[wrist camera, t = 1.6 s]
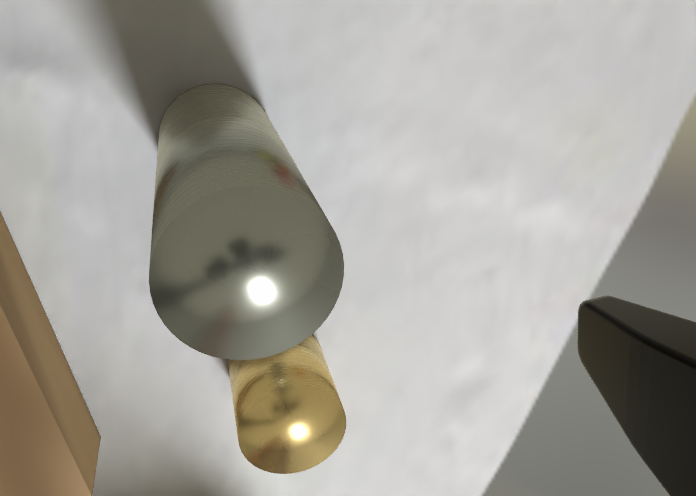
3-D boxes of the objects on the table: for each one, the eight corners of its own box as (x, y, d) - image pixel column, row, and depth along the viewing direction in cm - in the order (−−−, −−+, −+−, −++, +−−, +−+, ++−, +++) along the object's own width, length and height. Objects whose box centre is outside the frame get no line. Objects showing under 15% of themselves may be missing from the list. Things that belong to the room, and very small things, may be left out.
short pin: (241, 412, 26) (252, 486, 22) (218, 337, 24) (226, 404, 20) (329, 386, 26) (354, 455, 22) (312, 311, 24) (336, 372, 21)
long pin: (176, 204, 21) (180, 381, 13) (144, 97, 20) (122, 214, 11) (282, 179, 22) (357, 331, 13) (258, 72, 20) (325, 164, 12)
